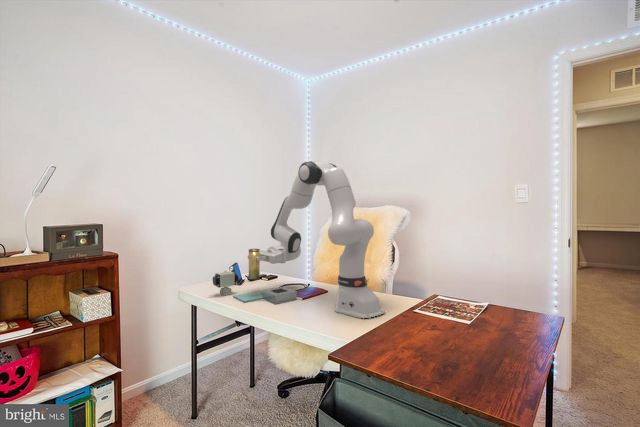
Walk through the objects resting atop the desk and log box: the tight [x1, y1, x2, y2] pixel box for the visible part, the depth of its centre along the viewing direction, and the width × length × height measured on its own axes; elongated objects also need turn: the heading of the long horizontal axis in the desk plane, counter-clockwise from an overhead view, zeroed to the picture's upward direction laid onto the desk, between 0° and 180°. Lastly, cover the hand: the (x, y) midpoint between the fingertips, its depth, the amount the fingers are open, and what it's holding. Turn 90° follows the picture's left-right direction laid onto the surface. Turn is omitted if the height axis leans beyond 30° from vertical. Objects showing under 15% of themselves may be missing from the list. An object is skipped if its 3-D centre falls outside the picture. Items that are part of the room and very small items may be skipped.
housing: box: [261, 286, 298, 305], centre depth 160 cm, size 12×12×4 cm
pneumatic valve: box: [212, 270, 239, 297], centre depth 168 cm, size 6×12×12 cm, turn 128°
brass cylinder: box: [248, 248, 261, 280], centre depth 162 cm, size 5×5×14 cm
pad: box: [232, 291, 264, 304], centre depth 163 cm, size 12×12×1 cm
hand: (252, 258), depth 162 cm, fingers closed on brass cylinder, 5 cm apart
